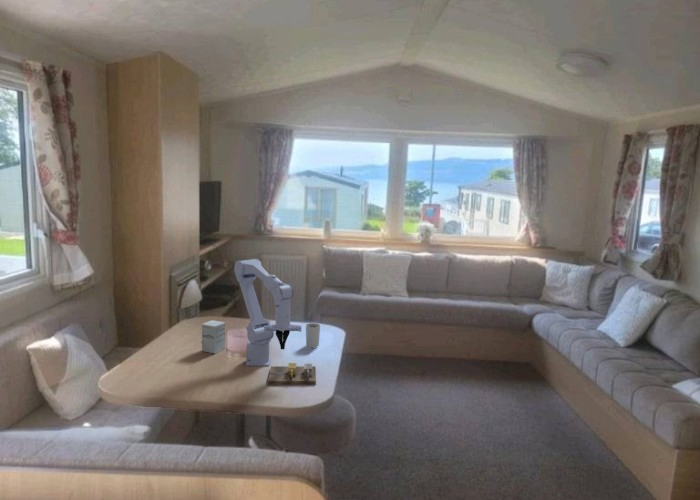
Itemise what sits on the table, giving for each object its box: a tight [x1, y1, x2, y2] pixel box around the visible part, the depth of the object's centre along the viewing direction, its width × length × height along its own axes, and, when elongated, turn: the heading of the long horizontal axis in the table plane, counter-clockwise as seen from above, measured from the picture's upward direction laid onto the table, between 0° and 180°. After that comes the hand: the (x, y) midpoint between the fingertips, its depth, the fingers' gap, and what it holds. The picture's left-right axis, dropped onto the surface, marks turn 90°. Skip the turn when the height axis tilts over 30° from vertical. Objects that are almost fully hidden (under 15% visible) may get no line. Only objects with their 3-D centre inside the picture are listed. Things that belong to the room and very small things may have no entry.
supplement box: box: [201, 319, 226, 355], centre depth 214 cm, size 7×7×13 cm
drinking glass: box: [305, 322, 321, 349], centre depth 224 cm, size 7×7×10 cm
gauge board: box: [267, 363, 317, 386], centre depth 189 cm, size 18×14×4 cm
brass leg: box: [288, 362, 297, 379], centre depth 187 cm, size 3×8×3 cm, turn 5°
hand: (282, 348), depth 191 cm, fingers closed
